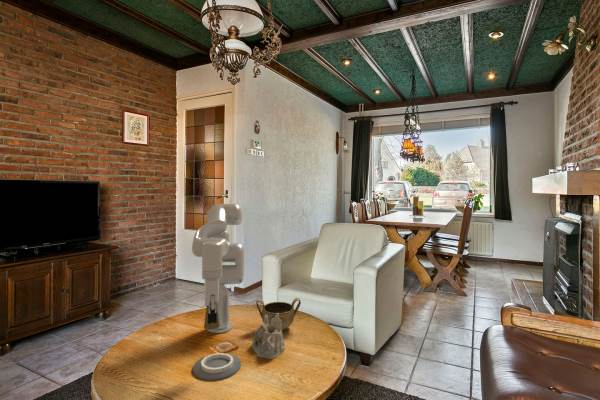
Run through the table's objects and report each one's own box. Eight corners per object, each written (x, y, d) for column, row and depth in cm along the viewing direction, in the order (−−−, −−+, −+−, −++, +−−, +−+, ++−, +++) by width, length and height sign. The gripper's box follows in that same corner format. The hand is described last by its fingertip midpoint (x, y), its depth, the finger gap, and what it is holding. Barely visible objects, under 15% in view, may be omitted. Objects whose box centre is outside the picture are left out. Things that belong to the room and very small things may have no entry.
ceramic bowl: (299, 321, 174) (299, 293, 174) (301, 335, 157) (302, 304, 157) (256, 322, 172) (257, 293, 172) (254, 336, 156) (255, 305, 155)
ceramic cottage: (260, 337, 155) (260, 306, 153) (291, 346, 147) (292, 314, 146) (240, 353, 141) (240, 320, 139) (273, 364, 133) (274, 329, 132)
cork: (205, 322, 130) (205, 295, 129) (221, 322, 130) (221, 295, 130) (202, 329, 124) (202, 300, 123) (218, 329, 124) (218, 300, 124)
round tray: (192, 359, 134) (192, 353, 134) (237, 352, 139) (237, 347, 139) (193, 384, 117) (193, 377, 117) (244, 375, 122) (244, 368, 122)
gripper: (201, 269, 133) (201, 313, 134) (202, 280, 117) (202, 330, 118) (220, 267, 135) (220, 311, 136) (223, 278, 119) (223, 328, 120)
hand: (212, 320), depth 127 cm, fingers closed on cork, 4 cm apart
